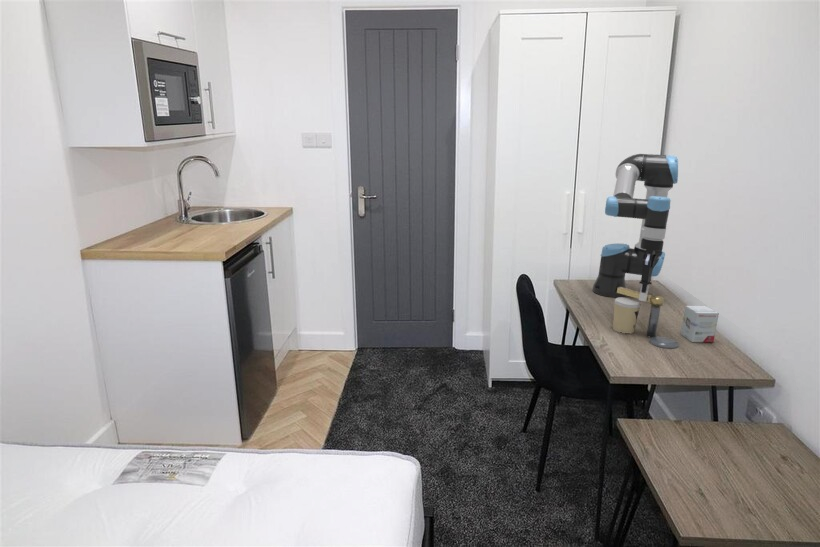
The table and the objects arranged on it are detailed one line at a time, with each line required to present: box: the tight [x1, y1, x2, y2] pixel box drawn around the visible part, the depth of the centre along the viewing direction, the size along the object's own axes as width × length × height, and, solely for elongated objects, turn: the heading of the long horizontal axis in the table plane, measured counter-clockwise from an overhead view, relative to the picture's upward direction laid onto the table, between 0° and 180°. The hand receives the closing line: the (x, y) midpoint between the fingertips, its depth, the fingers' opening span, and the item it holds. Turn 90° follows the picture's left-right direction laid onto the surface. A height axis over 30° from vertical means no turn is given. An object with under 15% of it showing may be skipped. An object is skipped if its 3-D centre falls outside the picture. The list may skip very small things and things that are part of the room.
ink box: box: [680, 305, 720, 343], centre depth 205 cm, size 9×9×12 cm
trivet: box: [648, 335, 680, 350], centre depth 200 cm, size 10×10×1 cm
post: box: [645, 304, 662, 338], centre depth 205 cm, size 3×3×12 cm
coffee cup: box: [612, 296, 641, 334], centre depth 210 cm, size 9×9×12 cm
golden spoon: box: [617, 287, 665, 307], centre depth 208 cm, size 4×18×3 cm, turn 39°
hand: (642, 300), depth 205 cm, fingers closed
